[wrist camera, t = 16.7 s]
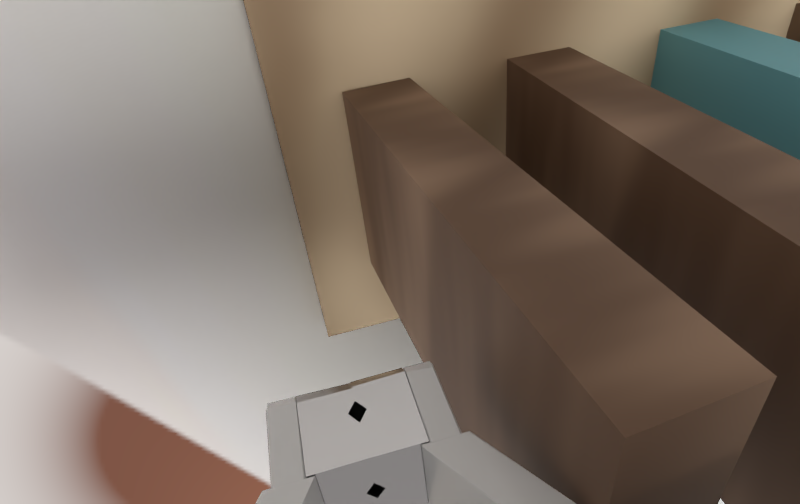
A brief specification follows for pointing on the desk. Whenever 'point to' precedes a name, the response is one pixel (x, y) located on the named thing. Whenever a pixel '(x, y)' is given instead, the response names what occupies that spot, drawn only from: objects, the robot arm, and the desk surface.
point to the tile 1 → (544, 317)
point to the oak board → (438, 75)
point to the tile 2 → (679, 221)
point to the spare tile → (734, 78)
